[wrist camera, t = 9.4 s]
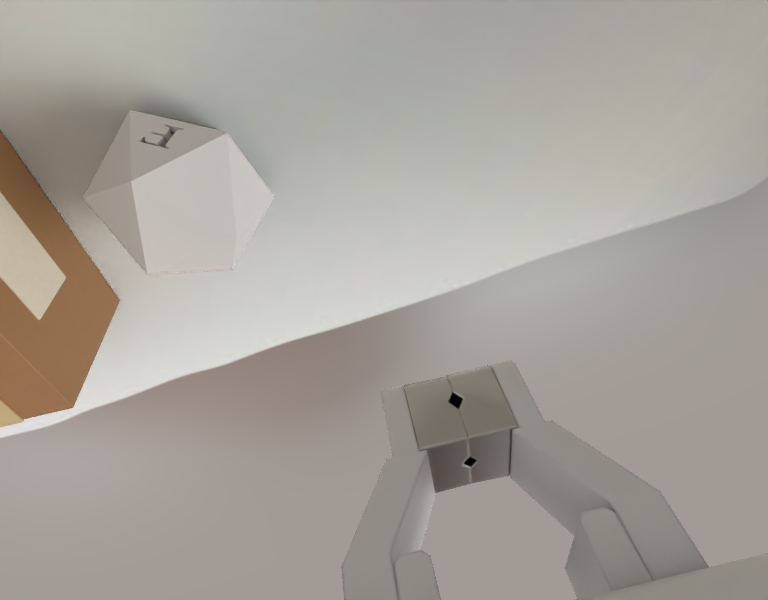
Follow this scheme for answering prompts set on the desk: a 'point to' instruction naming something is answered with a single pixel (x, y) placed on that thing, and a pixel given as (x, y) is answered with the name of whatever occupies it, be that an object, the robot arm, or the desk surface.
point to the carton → (43, 300)
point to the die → (178, 195)
